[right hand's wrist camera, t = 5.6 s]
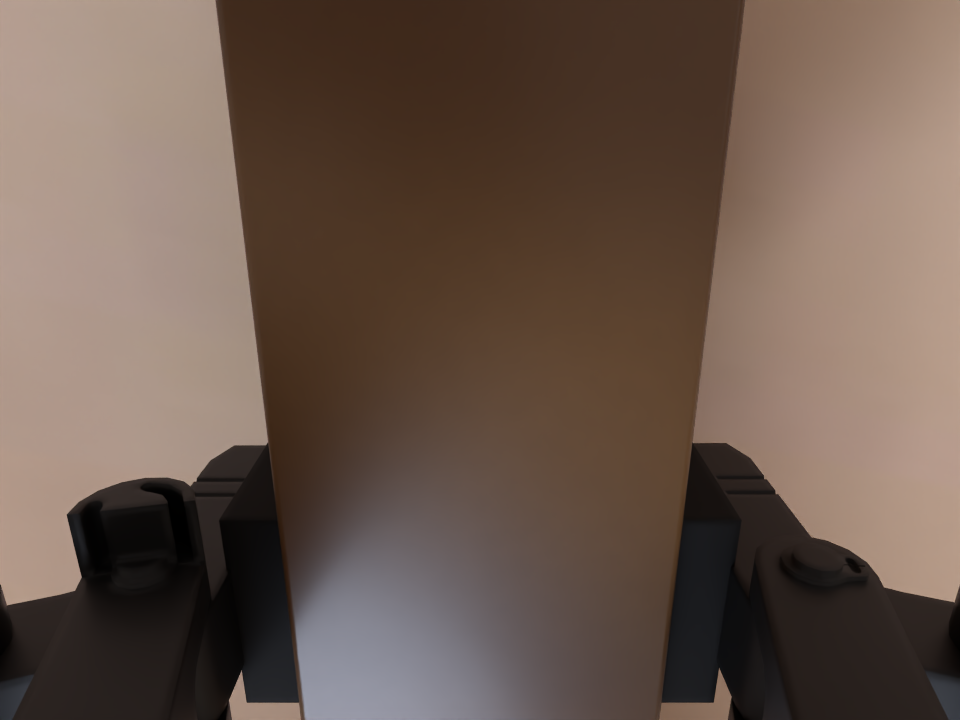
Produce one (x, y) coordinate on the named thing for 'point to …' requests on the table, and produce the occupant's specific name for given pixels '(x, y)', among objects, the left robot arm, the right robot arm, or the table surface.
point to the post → (480, 336)
